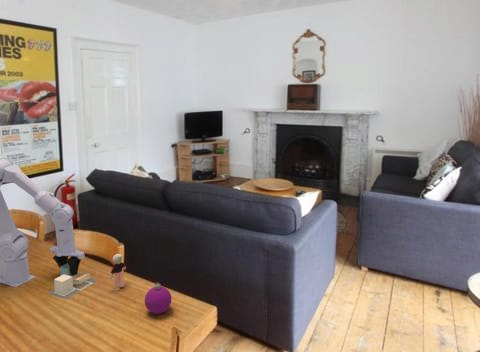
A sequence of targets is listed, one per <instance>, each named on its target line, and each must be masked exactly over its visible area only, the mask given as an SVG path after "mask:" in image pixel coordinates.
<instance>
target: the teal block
mask: <svg viewBox="0 0 480 352" xmlns="http://www.w3.org/2000/svg"><path fill="white" fill-rule="evenodd" d="M59 272H60V273H59V274H60V276H62V275H63V274H65V275H68V276H72V275H71V272H70V267H69V265H68V263H67V264H64V265H62V266H60V268H59Z"/></svg>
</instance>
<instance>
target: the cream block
mask: <svg viewBox="0 0 480 352" xmlns="http://www.w3.org/2000/svg"><path fill="white" fill-rule="evenodd" d="M53 282H54V283H53V284H54V289H55V293H57V294H60V295H63V296H64V295H66V294H68V293H69V292H71V291H73V290H74V289H73V278H72V276H68V275H65V274H63V275H62V276H61V275H60V276H58V277H56V278H54V279H53Z"/></svg>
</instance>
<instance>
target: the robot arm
mask: <svg viewBox="0 0 480 352" xmlns="http://www.w3.org/2000/svg"><path fill="white" fill-rule="evenodd" d="M3 183H5V184H7V183H8V184H15V185H16V186H17V187H19V188H20V189H22V190H23V191H25V192H26V193H27V194H29V195H30V196H31V197H32V198H34V199H33V200H34V204H35V205H37V207H39V208H40V209H41V210H43V211H44V212H45V213H46V214H48V215H49V216H50V219H51V222H52V223H53V224H54V226H55V228H54V229H55V236H56V246H55V245H54V246H52V247H50V248H49V251H50V254H55V255H54V256H53V257H52V259H53V260H54V261H55V263H56V264H57V266H58V267H59V269H60V266H62V265H64V264H67V263H68V265H69V267H70V272H71V275H72V276H73V275H75V274H79V273H78V272H79V267H80V263H81V260H83V259H84V258H86V257H85V252H84V251H81V250H80V249H78V248H77V247H76V243H75V241H76V239H75V233H74V232H75V231H74V225H73V223H74V222H73V216H74V214H75V213H74V208H73V207H72V206H71V205H69V204H67V203H64V202H62V201H61V200H59V199H58V197H56V196H55V193H54V192H50V191H49V190H42V189H41V188H40V187H39V186H38V185H37V184H35V182H34V181H33V180H31V179H30V178H29V177H28V176H27V175H26V174H25V173H24V172H23V171H22V170H21V168H20V167H19V165H17V164H15V163H14V162H13V161H12V160H11V159H9V158H5V157H4V158H2V157H1V158H0V187H1V186H2V185H3ZM29 247H30V241H29V239H28V238H27V237H26V236H25V235H24V233H23V231H21V230H20V229H18V228H17V226H16V224H15V222H14V218H13V217H12V215H11V212H10V209H9V207H8V205H7V202H6V199H5V197H4V196H3V193H2V190H1V189H0V283H1V284H5V285H8V286H10V287H13V288H17V287H19V286H21V285H23V284H26V283H27V282H29V281H31V280H33V279H35V278H36V276H35V275H32V274H30V267H29V266H30V265H29V259H28V252H27V250H28V249H29Z"/></svg>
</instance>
